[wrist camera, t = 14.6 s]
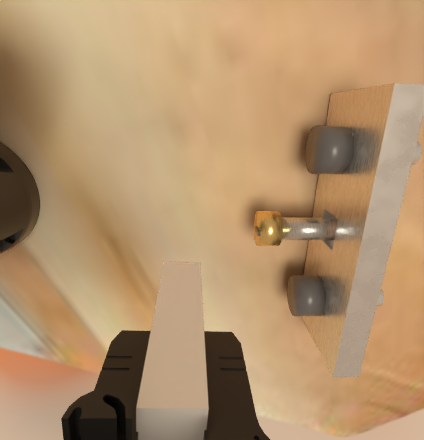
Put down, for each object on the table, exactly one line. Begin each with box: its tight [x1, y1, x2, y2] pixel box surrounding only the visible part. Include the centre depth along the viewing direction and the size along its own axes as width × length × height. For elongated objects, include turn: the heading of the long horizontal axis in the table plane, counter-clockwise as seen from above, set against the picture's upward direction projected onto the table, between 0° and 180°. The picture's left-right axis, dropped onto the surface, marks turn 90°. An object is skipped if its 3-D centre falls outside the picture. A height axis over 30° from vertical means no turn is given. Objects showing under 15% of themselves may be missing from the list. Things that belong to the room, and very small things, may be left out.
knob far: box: [287, 275, 384, 316], centre depth 38 cm, size 11×5×5 cm, turn 88°
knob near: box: [305, 126, 421, 174], centre depth 33 cm, size 11×5×5 cm, turn 88°
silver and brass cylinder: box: [254, 211, 338, 246], centre depth 35 cm, size 11×4×4 cm, turn 88°
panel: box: [301, 83, 424, 377], centre depth 35 cm, size 8×30×12 cm, turn 178°
